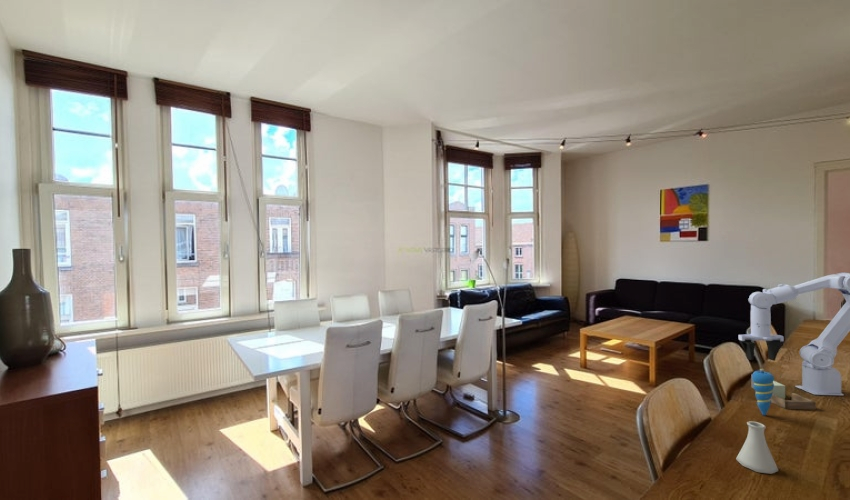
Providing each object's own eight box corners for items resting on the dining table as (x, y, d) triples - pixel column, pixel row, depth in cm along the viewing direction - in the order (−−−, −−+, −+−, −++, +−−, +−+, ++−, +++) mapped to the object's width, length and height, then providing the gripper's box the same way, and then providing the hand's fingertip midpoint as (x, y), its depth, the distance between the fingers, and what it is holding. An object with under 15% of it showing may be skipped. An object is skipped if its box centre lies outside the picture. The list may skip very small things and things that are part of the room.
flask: (729, 458, 93) (728, 418, 93) (756, 456, 94) (755, 416, 94) (757, 475, 86) (756, 432, 86) (786, 473, 86) (785, 430, 86)
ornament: (779, 419, 113) (778, 370, 113) (759, 418, 114) (758, 369, 114) (767, 412, 118) (766, 364, 118) (748, 411, 120) (748, 364, 120)
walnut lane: (815, 409, 120) (815, 402, 120) (784, 408, 121) (784, 401, 121) (794, 400, 128) (794, 393, 128) (766, 399, 128) (766, 392, 128)
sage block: (785, 398, 129) (785, 384, 129) (769, 398, 129) (769, 383, 129) (761, 387, 139) (761, 374, 139) (746, 387, 140) (746, 373, 140)
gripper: (748, 325, 139) (748, 362, 139) (790, 326, 138) (790, 363, 138) (734, 322, 146) (734, 357, 146) (774, 322, 145) (774, 357, 145)
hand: (760, 359), depth 142 cm, fingers open, 7 cm apart
